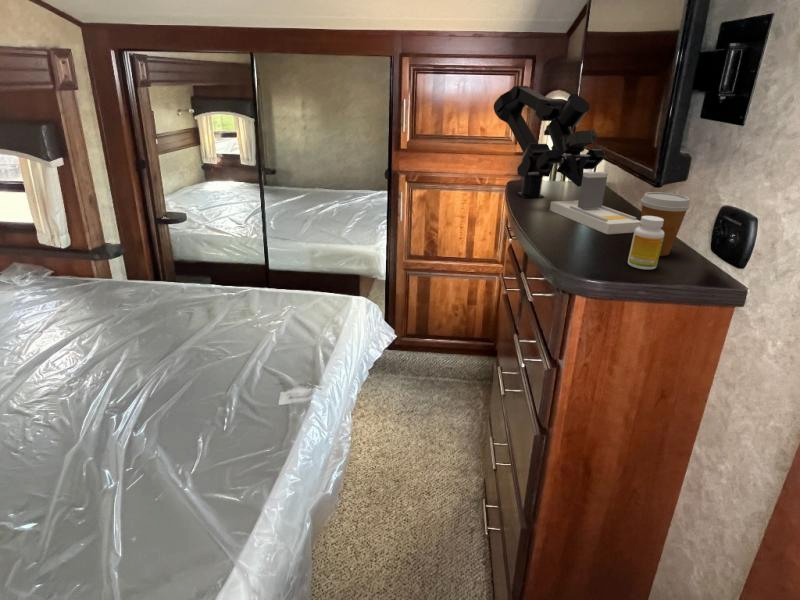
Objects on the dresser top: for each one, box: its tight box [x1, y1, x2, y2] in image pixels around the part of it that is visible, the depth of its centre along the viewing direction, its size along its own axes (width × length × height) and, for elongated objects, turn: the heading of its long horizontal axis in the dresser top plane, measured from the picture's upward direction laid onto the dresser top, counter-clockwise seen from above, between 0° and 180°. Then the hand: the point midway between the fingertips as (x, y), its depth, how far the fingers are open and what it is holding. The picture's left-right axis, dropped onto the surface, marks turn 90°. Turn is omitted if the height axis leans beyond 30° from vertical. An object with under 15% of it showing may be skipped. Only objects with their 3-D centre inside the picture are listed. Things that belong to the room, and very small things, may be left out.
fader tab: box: [578, 171, 609, 209], centre depth 135 cm, size 2×6×9 cm, turn 109°
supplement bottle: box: [627, 216, 664, 271], centre depth 102 cm, size 5×5×10 cm
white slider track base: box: [549, 199, 641, 235], centre depth 135 cm, size 24×10×3 cm, turn 19°
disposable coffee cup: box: [640, 191, 692, 257], centre depth 110 cm, size 10×10×12 cm
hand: (580, 185), depth 139 cm, fingers closed
